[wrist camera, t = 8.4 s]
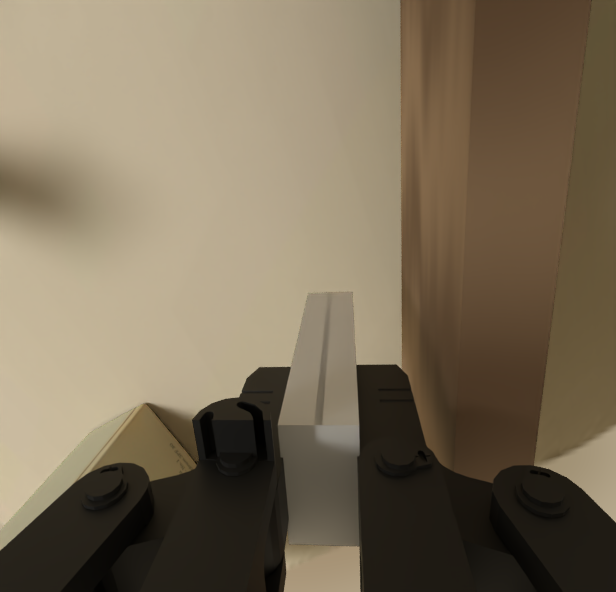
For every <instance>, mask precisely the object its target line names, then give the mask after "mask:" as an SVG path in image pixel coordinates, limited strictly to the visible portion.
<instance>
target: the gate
mask: <svg viewBox="0 0 616 592" xmlns="http://www.w3.org/2000/svg"><path fill="white" fill-rule="evenodd" d="M591 1H592V0H401V232H402V370H403V371H404V372H405V373H406V374H407V375H408V378H409V381H410V385H411V391H412V393H413V397H414V402H415V404H416V408H417V412H418V416H419V419H420V423H421V427H422V431H423V435H424V438H425V442H426V445H427V447H428V448H429V449H430V450H432V451H433V452H434V454H435V456H436V458H437V459H438V461H439V463H440V464H442V465H443V466H444V467H446V468H448V469H450V470H452V471H454V472H455V473H458V474H461V475H464V476H467V477H470V478H474V479H478V480H482V481H486V482H490V483H493V479H494V478H495V477H496V476H497V474H498V473H499V472H500V471H501V470H503V469H506V468H508V467H511V466H514V465H532V466H534V458H535V450H536V442H537V434H538V426H539V418H540V410H541V402H542V394H543V386H544V378H545V370H546V362H547V354H548V346H549V338H550V330H551V322H552V314H553V306H554V298H555V290H556V282H557V274H558V266H559V258H560V249H561V241H562V233H563V225H564V217H565V209H566V201H567V193H568V185H569V177H570V169H571V161H572V153H573V145H574V137H575V129H576V121H577V113H578V105H579V97H580V89H581V81H582V73H583V65H584V57H585V49H586V41H587V33H588V25H589V17H590V9H591Z"/></svg>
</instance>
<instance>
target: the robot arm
mask: <svg viewBox="0 0 616 592" xmlns="http://www.w3.org/2000/svg"><path fill="white" fill-rule="evenodd" d="M192 421H193V427H194V433H195V438H196V444H197V450H198V455H199V462H198V464H197V466H196V468H195V469H193V470H191V471H189V472H185V473H182V474H179V475H175V476H171V477H166V478H162V479H158V480H153V481H150V479H149V476H148V474H147V472H146V471H145V469H144V468H143V467H141V466H139V465H136V464H134V463H115V464H111V465H106V466H103V467H100V468H98V469H96V470H94V471H92V472H89V473H87V474H86V475H85V476H83V477H82V478H81V479H79V480H78V481H76V482H75V483H74V484H73V485H71V486H70V487H69V488H68V489H67V490H66V491H65V492H64V493H63V494H62V495H61V496H59V497H58V498H57V499H56V500H55V501H54V502H53V503H52V504H51V505H50V506H48V507H47V508H46V509H45V510H44V511H43V512H42V513H41V514H40V515H39V516H38V517H36V518H35V519H34V520H33V521H32V522H31V523H30V524H29V525H28V526H27V527H25V528H24V529H23V530H22V531H21V532H20V533H19V534H18V535H17V536H16V537H15V538H13V539H12V540H11V541H10V542H9V543H8V544H7V545H6V546H5V547H4V548H2V549H1V550H0V592H284V585H285V578H286V563H285V552H284V549H285V542H286V536H287V529H288V539H289V544H295V545H328V546H360V589H361V592H616V523H615V521H614V520H613V519H611V517H610V516H609V515H608V514H607V513H605V512H604V511H603V510H602V509H601V508H600V507H599V506H598V505H597V504H596V503H595V502H594V501H593V500H592V499H591V498H590V497H589V496H588V495H587V494H586V493H585V492H584V491H583V490H582V489H581V488H579V487H578V486H577V485H576V484H575V483H573V482H572V481H571V480H569V479H568V478H567V477H564V476H562V475H560V474H558V473H556V472H554V471H551V470H549V469H546V468H541V467H537V466H532V465H514V466H511V467H508V468H506V469H503V470H501V471H500V472H499V473H498V474H497V476H496V477H495V478H494V479H493V483H490V482H486V481H482V480H478V479H474V478H470V477H467V476H464V475H461V474H458V473H455V472H454V471H452V470H450V469H448V468H446V467H444V466H443V465H442V464H440V463H439V461H438V459H437V458H436V456H435V454H434V452H433V451H432V450H430V449H429V448H428V447H427V445H426V442H425V438H424V435H423V431H422V427H421V423H420V419H419V416H418V412H417V408H416V404H415V402H414V397H413V393H412V391H411V385H410V381H409V378H408V375H407V374H406V373H405V372H404V371H403V370H402V369H401V368H399V367H398V366H397V365H356V352H355V332H354V312H353V292H325V293H308V296H307V300H306V304H305V309H304V313H303V317H302V322H301V326H300V330H299V335H298V339H297V343H296V348H295V352H294V356H293V361H292V365H291V367H259V368H258V369H257V370H256V371H255V372H254V373H252V374H251V375H250V376H249V377H248V378H247V379H246V382H245V384H244V387H243V389H242V393H241V394H240V397H239V398H230V399H224V400H221V401H218V402H215V403H212V404H210V405H209V406H207V407H205V408H204V409H202V410H200V411H199V413H198V414H197V415H196V416H195V417H194V418H193V420H192Z"/></svg>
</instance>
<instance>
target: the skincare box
mask: <svg viewBox="0 0 616 592" xmlns="http://www.w3.org/2000/svg"><path fill="white" fill-rule="evenodd" d="M115 463H134V464H136V465H139V466H141V467H143V468H144V469H145V471H146V472H147V474H148V476H149V479H150V481H153V480H158V479H162V478H166V477H171V476H175V475H179V474H182V473H185V472H189V471H191V470H193V469H195V468H196V466H197V465H196V463H195V462H194V461H193V460H192V458H191V457H190V456H189V455H188V453H187V452H186V451H185V450H184V449H183V447H182V446H181V445H180V444H179V443H178V441H177V440H176V439H175V438H174V436H173V435H172V434H171V433H170V432H169V430H168V429H167V428H166V427H165V426H164V424H163V423H162V422H161V421H160V419H159V418H158V417H157V416H156V415H155V413H154V412H153V411H152V410H151V409H150V408H149V407H148V406H147V405H146V404H142V405H140V406H138V407H136V408H134V409H132V410H130V411H129V412H127V413H125V414H123V415H121V416H119V417H117V418H116V419H114V420H112V421H110V422H108V423H106V424H105V425H103V426H101V427H99V428H98V429H96V430H94V431H92V432H91V433H89V434H88V435H87V436H86V437H85V438H84V439H83V440H82V441H81V443H80V444H79V445H78V446H77V447H76V448H75V449H74V450H73V451H72V452H71V453H70V454H69V456H68V457H67V458H66V459H65V460H64V461H63V462H62V463H61V464H60V465H59V466H58V468H57V469H56V470H55V471H54V472H53V473H52V474H51V475H50V476H49V477H48V478H47V480H46V481H45V482H44V483H43V484H42V485H41V486H40V487H39V488H38V489H37V491H36V492H35V493H34V494H33V495H32V496H31V497H30V498H29V499H28V501H27V502H26V503H25V504H24V505H23V506H22V507H21V508H20V509H19V510H18V511H17V512H16V514H15V515H14V516H13V517H12V518H11V519H10V520H9V521H8V522H7V523H6V524H5V525H4V527H3V528H2V529H1V530H0V550H1V549H2V548H4V547H5V546H6V545H7V544H8V543H9V542H10V541H11V540H12V539H13V538H15V537H16V536H17V535H18V534H19V533H20V532H21V531H22V530H23V529H24V528H25V527H27V526H28V525H29V524H30V523H31V522H32V521H33V520H34V519H35V518H36V517H38V516H39V515H40V514H41V513H42V512H43V511H44V510H45V509H46V508H47V507H48V506H50V505H51V504H52V503H53V502H54V501H55V500H56V499H57V498H58V497H59V496H61V495H62V494H63V493H64V492H65V491H66V490H67V489H68V488H69V487H70V486H71V485H73V484H74V483H75V482H76V481H78V480H79V479H81V478H82V477H83V476H85V475H86V474H87V473H89V472H92V471H94V470H96V469H98V468H100V467H103V466H106V465H111V464H115Z"/></svg>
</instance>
